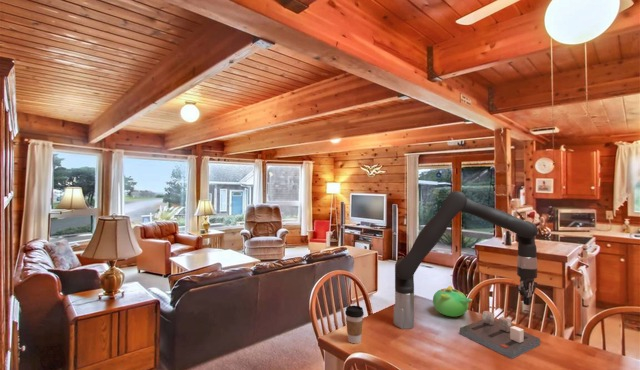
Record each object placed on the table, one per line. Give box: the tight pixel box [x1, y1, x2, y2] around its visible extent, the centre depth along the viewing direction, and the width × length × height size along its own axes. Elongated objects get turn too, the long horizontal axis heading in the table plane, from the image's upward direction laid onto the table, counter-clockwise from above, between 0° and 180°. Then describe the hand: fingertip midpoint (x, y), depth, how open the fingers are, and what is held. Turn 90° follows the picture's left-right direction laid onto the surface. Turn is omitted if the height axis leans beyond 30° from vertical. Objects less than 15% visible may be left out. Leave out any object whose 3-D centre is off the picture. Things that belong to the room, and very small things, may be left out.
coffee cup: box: [344, 305, 365, 344], centre depth 142 cm, size 8×8×15 cm
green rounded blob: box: [432, 285, 473, 317], centre depth 169 cm, size 18×17×15 cm
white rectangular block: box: [510, 325, 525, 343], centre depth 136 cm, size 3×4×5 cm
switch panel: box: [459, 310, 541, 360], centre depth 143 cm, size 22×24×8 cm
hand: (526, 304), depth 140 cm, fingers closed
